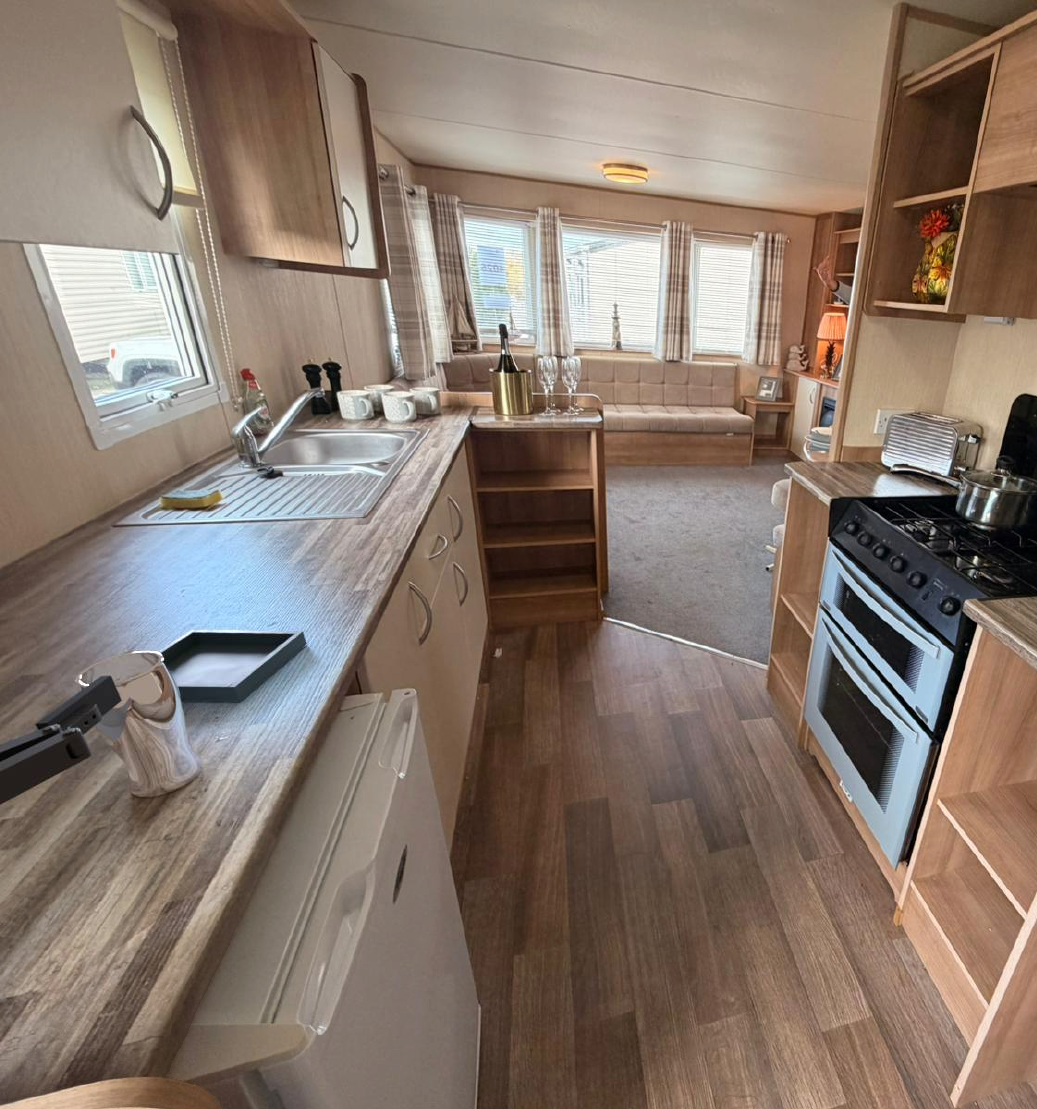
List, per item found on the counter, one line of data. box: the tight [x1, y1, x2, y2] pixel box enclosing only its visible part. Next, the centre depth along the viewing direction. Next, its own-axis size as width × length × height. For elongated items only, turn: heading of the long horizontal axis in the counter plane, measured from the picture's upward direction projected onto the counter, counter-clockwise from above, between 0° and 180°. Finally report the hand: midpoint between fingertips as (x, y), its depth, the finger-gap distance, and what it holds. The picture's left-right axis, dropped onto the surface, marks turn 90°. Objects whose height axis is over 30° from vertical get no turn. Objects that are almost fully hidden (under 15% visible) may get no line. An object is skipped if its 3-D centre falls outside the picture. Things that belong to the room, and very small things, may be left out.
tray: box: [156, 629, 308, 704], centre depth 85 cm, size 17×15×3 cm
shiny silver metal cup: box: [75, 650, 204, 798], centre depth 64 cm, size 7×7×15 cm
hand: (19, 694), depth 51 cm, fingers open, 13 cm apart
